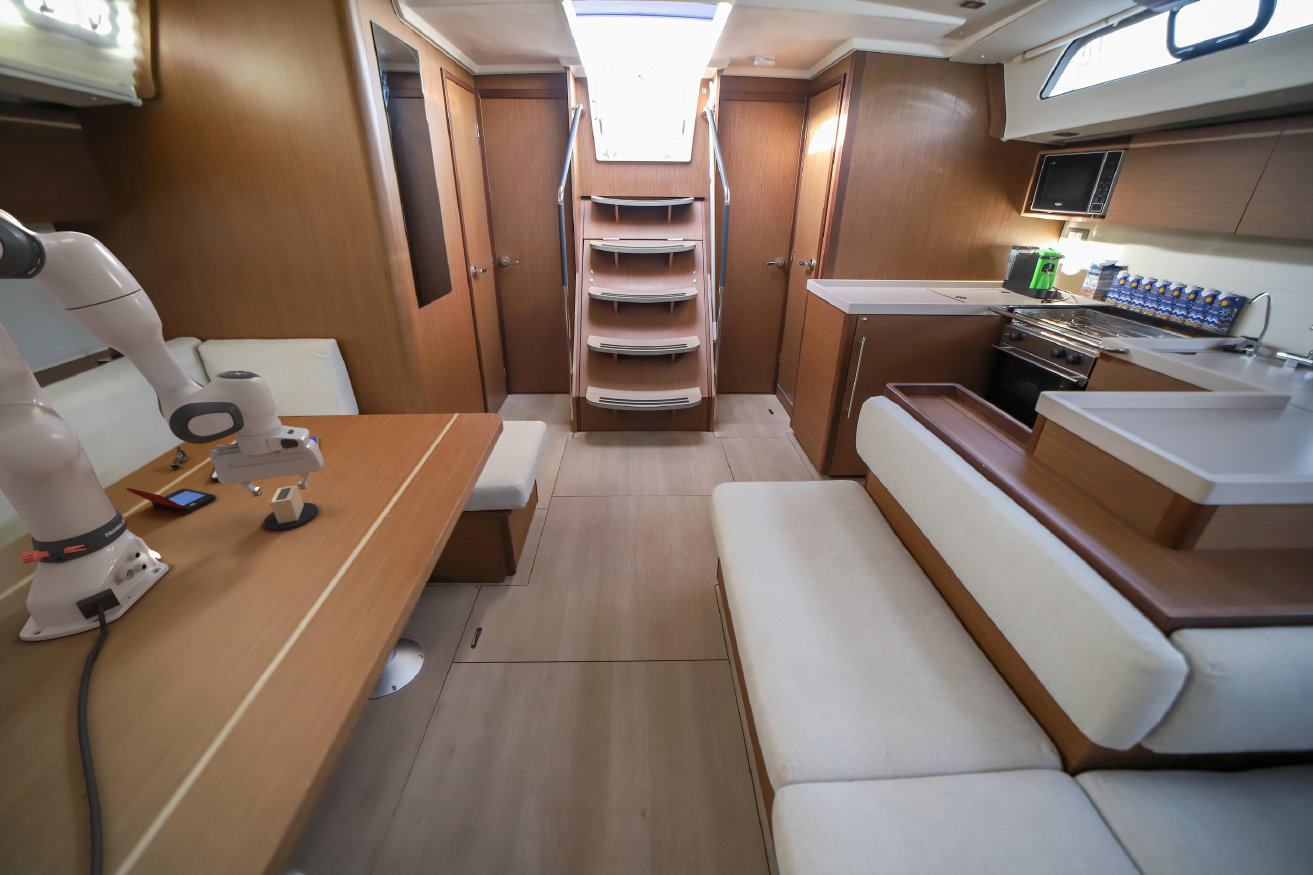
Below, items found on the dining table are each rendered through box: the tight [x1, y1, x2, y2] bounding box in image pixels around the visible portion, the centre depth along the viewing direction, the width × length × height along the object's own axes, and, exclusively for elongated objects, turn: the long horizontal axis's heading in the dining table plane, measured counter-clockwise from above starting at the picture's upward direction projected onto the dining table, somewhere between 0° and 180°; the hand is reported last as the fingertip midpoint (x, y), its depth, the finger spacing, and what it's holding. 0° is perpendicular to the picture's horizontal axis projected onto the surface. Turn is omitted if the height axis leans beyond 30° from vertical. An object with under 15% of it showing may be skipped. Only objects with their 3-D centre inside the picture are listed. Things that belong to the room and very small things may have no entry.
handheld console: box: [126, 487, 217, 514], centre depth 126 cm, size 12×11×7 cm
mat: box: [263, 502, 319, 532], centre depth 123 cm, size 11×11×1 cm
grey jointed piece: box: [169, 444, 189, 470], centre depth 147 cm, size 2×8×4 cm, turn 22°
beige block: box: [269, 484, 304, 524], centre depth 122 cm, size 4×8×6 cm, turn 22°
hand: (281, 491), depth 120 cm, fingers open, 8 cm apart
